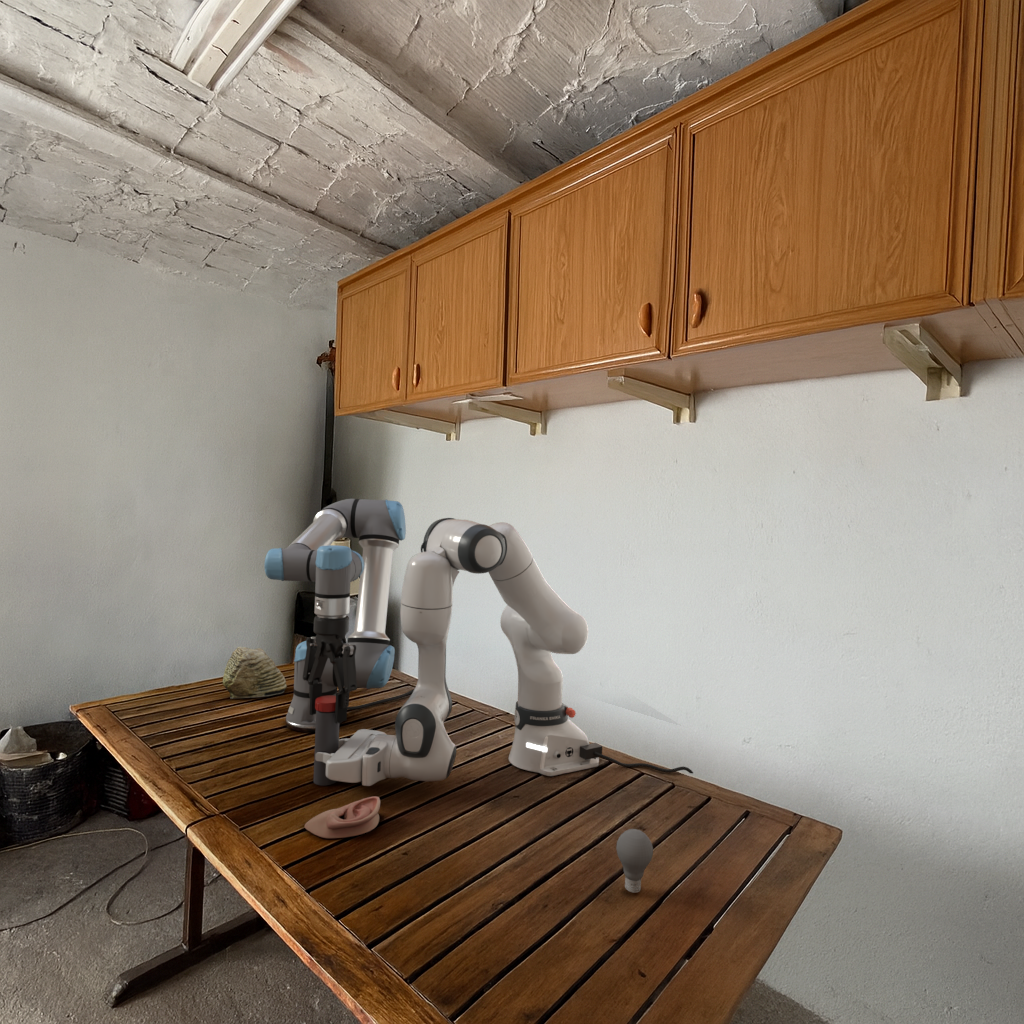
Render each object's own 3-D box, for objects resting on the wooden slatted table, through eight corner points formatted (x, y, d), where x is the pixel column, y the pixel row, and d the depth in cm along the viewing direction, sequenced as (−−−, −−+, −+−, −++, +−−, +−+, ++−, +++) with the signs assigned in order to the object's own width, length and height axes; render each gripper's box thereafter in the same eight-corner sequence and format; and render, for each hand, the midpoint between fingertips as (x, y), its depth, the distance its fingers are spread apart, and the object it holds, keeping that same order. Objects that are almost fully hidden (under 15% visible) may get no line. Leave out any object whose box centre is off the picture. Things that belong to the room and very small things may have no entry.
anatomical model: (296, 812, 118) (326, 786, 130) (295, 833, 118) (325, 805, 130) (362, 823, 116) (387, 795, 127) (361, 844, 116) (386, 814, 127)
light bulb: (610, 879, 108) (613, 822, 108) (644, 879, 109) (647, 822, 109) (619, 902, 102) (622, 840, 102) (655, 901, 103) (658, 840, 103)
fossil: (218, 695, 195) (220, 647, 195) (278, 685, 208) (279, 640, 207) (228, 703, 189) (230, 653, 188) (289, 692, 201) (290, 645, 201)
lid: (339, 702, 145) (339, 694, 145) (343, 710, 140) (343, 701, 140) (313, 705, 143) (313, 696, 142) (317, 713, 137) (317, 704, 137)
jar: (339, 783, 140) (342, 704, 140) (315, 787, 138) (318, 706, 138) (334, 774, 145) (337, 697, 145) (311, 777, 143) (314, 699, 142)
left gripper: (287, 611, 143) (284, 711, 144) (351, 624, 132) (347, 732, 132) (314, 607, 149) (310, 703, 150) (377, 619, 138) (373, 723, 139)
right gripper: (397, 725, 150) (341, 720, 152) (367, 759, 130) (303, 753, 131) (396, 751, 150) (340, 746, 152) (366, 790, 130) (302, 783, 131)
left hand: (327, 717), depth 141 cm, fingers open, 8 cm apart
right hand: (322, 749), depth 141 cm, fingers closed on jar, 5 cm apart
